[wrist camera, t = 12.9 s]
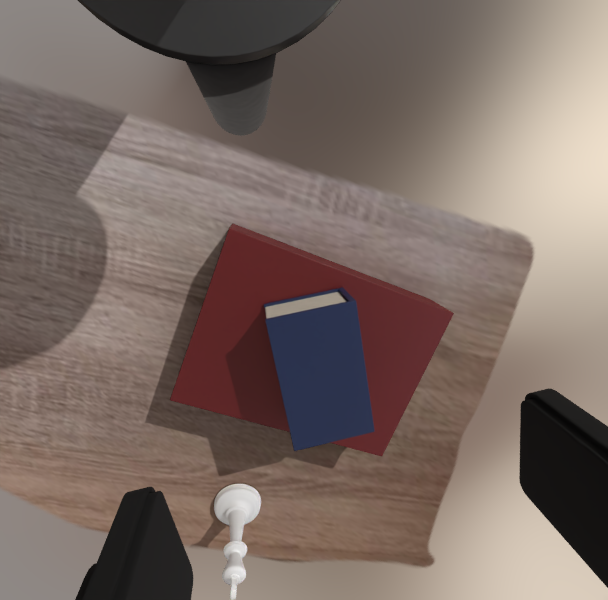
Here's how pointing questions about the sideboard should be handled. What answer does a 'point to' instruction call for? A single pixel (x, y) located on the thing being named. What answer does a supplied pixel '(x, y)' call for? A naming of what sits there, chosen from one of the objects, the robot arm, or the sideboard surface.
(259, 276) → the hardback
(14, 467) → the sideboard surface
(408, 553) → the sideboard surface
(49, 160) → the sideboard surface
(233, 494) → the chess piece
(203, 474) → the sideboard surface
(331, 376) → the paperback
